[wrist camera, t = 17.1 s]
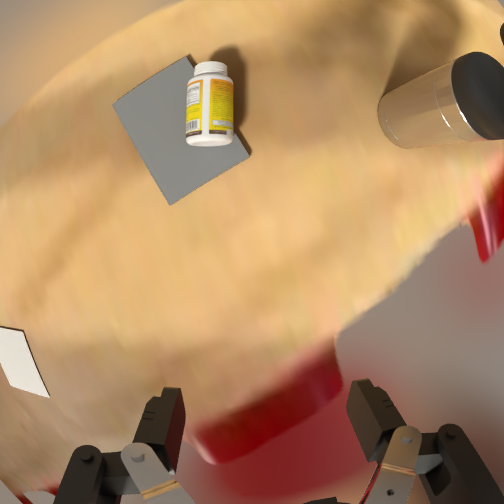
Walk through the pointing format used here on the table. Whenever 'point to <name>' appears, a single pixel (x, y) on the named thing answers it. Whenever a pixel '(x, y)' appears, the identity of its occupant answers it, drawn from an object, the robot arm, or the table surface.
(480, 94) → the robot arm
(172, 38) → the table surface
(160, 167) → the mat
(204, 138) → the supplement bottle
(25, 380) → the paper stack
